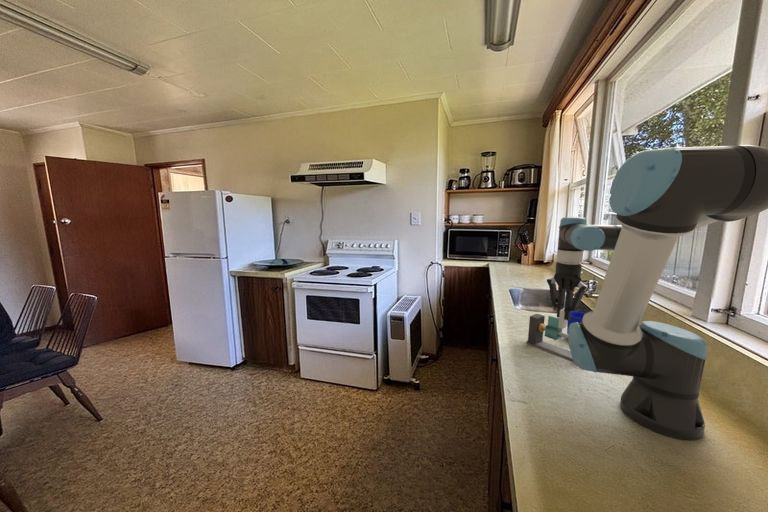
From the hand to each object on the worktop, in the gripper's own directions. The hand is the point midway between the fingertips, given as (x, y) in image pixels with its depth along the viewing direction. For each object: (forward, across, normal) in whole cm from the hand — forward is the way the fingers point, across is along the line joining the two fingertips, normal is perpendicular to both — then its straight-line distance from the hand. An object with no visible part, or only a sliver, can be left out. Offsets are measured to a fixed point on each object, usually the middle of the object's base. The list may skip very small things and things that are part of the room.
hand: (562, 327), depth 105 cm
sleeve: (+5, +3, 0) cm, 5 cm away
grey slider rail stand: (+10, +1, 0) cm, 10 cm away
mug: (+10, +1, -19) cm, 22 cm away
